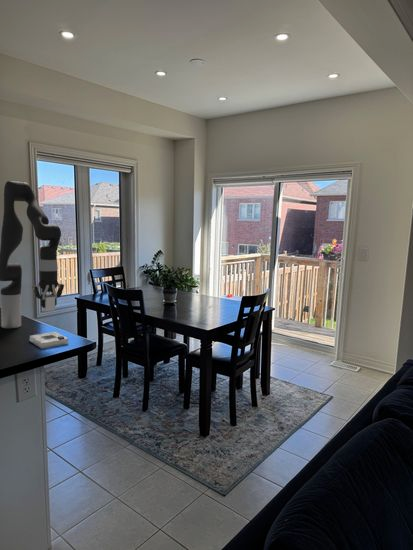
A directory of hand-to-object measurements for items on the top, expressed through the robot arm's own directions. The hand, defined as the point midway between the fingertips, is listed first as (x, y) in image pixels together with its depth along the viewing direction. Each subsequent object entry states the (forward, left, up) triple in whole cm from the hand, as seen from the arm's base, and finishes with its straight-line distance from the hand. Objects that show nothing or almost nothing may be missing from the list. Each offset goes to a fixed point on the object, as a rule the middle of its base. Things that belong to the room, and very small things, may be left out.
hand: (48, 306), depth 172 cm
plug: (0, 0, -1) cm, 1 cm away
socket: (0, 0, -17) cm, 17 cm away
